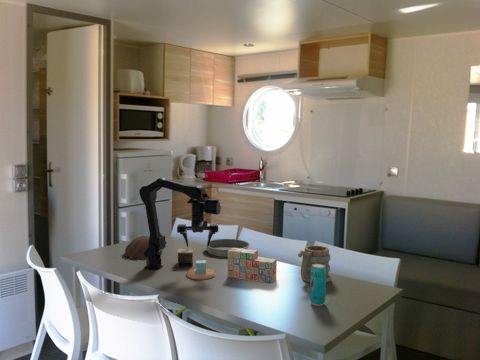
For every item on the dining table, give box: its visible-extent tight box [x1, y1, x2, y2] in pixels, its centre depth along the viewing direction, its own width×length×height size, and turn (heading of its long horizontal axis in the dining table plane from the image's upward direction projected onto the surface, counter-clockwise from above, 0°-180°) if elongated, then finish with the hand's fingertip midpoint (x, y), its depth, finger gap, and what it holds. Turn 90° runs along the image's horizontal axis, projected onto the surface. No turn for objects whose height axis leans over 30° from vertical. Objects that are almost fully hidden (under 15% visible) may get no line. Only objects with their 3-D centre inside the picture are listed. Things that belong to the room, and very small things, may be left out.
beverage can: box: [309, 264, 327, 307], centre depth 178 cm, size 6×6×15 cm
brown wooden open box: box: [177, 248, 194, 268], centre depth 229 cm, size 7×7×7 cm
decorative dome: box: [124, 235, 163, 260], centre depth 247 cm, size 19×20×10 cm
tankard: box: [297, 245, 332, 283], centre depth 206 cm, size 20×13×15 cm, turn 134°
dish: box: [186, 267, 217, 281], centre depth 213 cm, size 13×13×1 cm
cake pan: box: [204, 238, 251, 258], centre depth 255 cm, size 25×25×4 cm
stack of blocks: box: [227, 247, 278, 284], centre depth 209 cm, size 21×6×12 cm, turn 65°
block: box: [195, 259, 207, 274], centre depth 213 cm, size 4×4×5 cm
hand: (197, 246), depth 216 cm, fingers open, 9 cm apart
